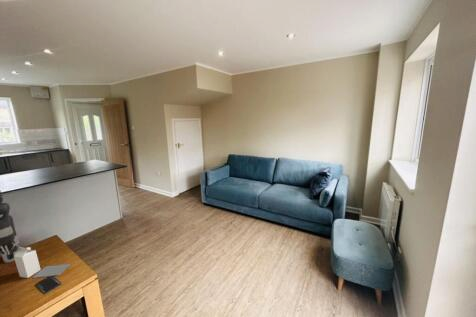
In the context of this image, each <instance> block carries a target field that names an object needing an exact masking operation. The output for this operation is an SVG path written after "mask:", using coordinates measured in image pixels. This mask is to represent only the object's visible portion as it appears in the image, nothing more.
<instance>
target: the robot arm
mask: <svg viewBox="0 0 476 317" xmlns="http://www.w3.org/2000/svg"><path fill="white" fill-rule="evenodd" d="M3 201H4V197H3V194H2V192H1V190H0V216H1V217H0V254H1V257H2V260H3V262H5V263H12V262H15V259H14V255H15V254H16V253H17V251H18V250H19V247H21V243H20V242H19V238H18V235H17V230H16V227H15V224H14V218H13V217H12V215H10V209H11V207H10V204H9V203H7V202H3Z"/></svg>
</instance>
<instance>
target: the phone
mask: <svg viewBox="0 0 476 317" xmlns="http://www.w3.org/2000/svg"><path fill="white" fill-rule="evenodd" d="M61 285H62V282H61V280H59V279H57V278H56V276H52V275H51V276H49V277H44V278H43V279H41V280H40V281H38V282H36V283H35V287H37V288H38V289H39V290H40V291H41V292H42V293H43V294H48V293H50V292H51V291H53V290H55V289H57V288H58V287H60V286H61Z"/></svg>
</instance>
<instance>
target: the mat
mask: <svg viewBox="0 0 476 317" xmlns="http://www.w3.org/2000/svg"><path fill="white" fill-rule="evenodd" d="M71 265H72V264H71V263H67V264H58V265H57V264H56V265H46V266H45V267H43V268H42V269H41V270H40V271H38V272H37V273H35V274H34V276H31V277H32V278H31V279H39V278H47V277H49V276H51V275H52V276H53V277H58V276H60V275H62V274H63V273H64V272H65V270H67V269H68V268H69V267H70V266H71Z"/></svg>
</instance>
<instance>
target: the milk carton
mask: <svg viewBox="0 0 476 317" xmlns="http://www.w3.org/2000/svg"><path fill="white" fill-rule="evenodd" d="M31 248H32V247H30V246H29V247H22V246H20V247H19V250H18V251H17V253H16V254H15V255H14V259H15V261H14V262H15V265H16V269H17V271H18V275H19V277H20V278H25V279H29V278H31V277H33V275H36V274H37V273H39V272H40V271H41V270H42V269H41V266H40V262H39V258H38V255H37V251H36V249H31Z"/></svg>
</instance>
